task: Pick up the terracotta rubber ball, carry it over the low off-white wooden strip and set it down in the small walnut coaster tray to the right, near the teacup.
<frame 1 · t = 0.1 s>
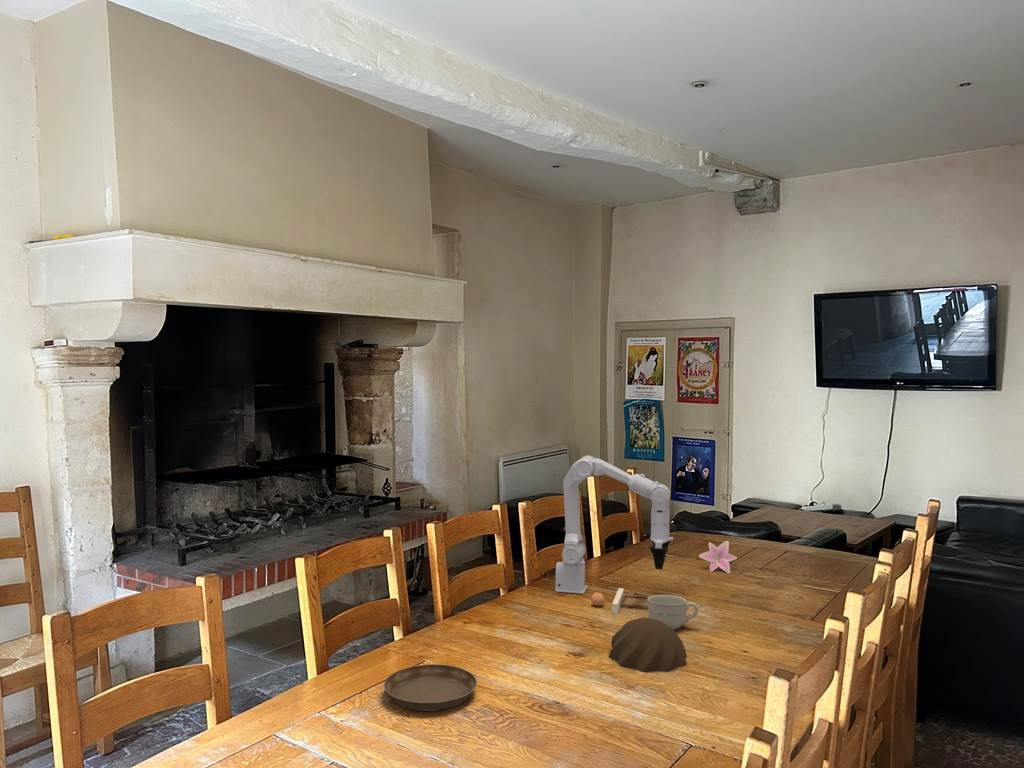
hand: (659, 565, 236), 10 cm above the table, tool pointing down, fingers open, 7 cm apart
tray: (637, 604, 230), on the table
teacup: (672, 628, 209), on the table
strip: (618, 605, 228), on the table
plant saucer: (430, 696, 166), on the table
decorative dome: (647, 658, 189), on the table
ball: (597, 599, 228), point 2 cm above the table
lily: (718, 570, 269), on the table
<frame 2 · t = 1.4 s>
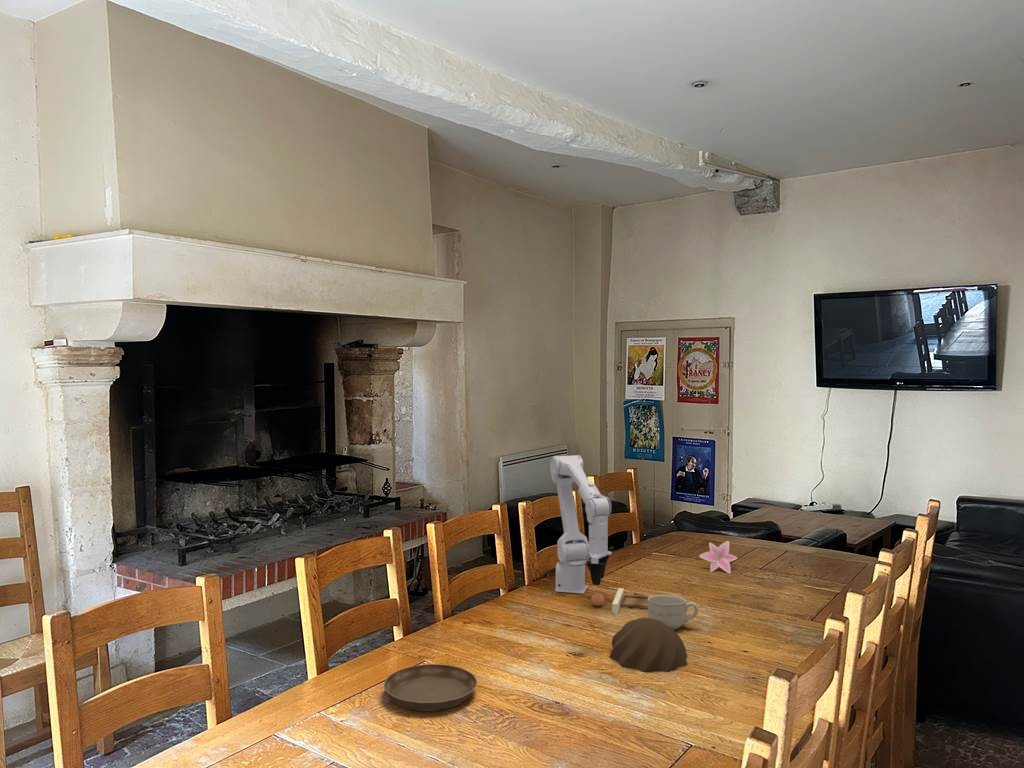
hand: (598, 581, 228), 8 cm above the table, tool pointing down, fingers open, 7 cm apart
nothing on the table moved.
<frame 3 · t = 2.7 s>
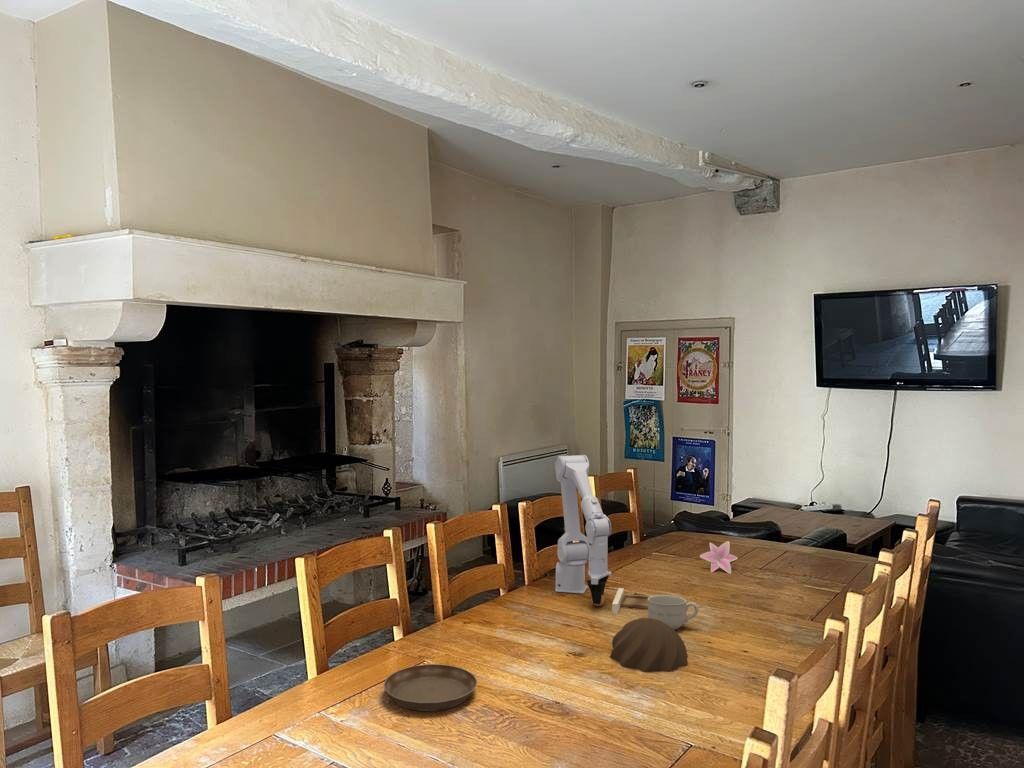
hand: (597, 601, 228), 1 cm above the table, tool pointing down, fingers closed on ball, 4 cm apart
ball: (597, 599, 228), point 2 cm above the table, touching gripper
everything else where it was.
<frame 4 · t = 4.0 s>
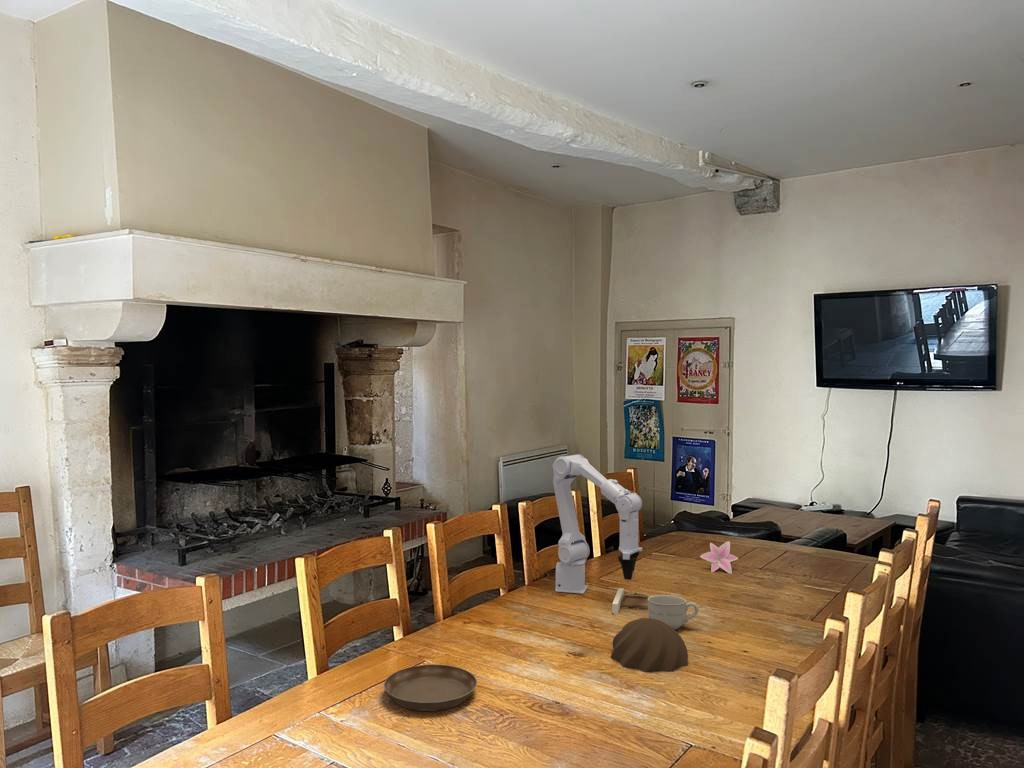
hand: (628, 577, 229), 8 cm above the table, tool pointing down, fingers closed on ball, 4 cm apart
ball: (628, 575, 229), point 9 cm above the table, touching gripper
everything else where it was.
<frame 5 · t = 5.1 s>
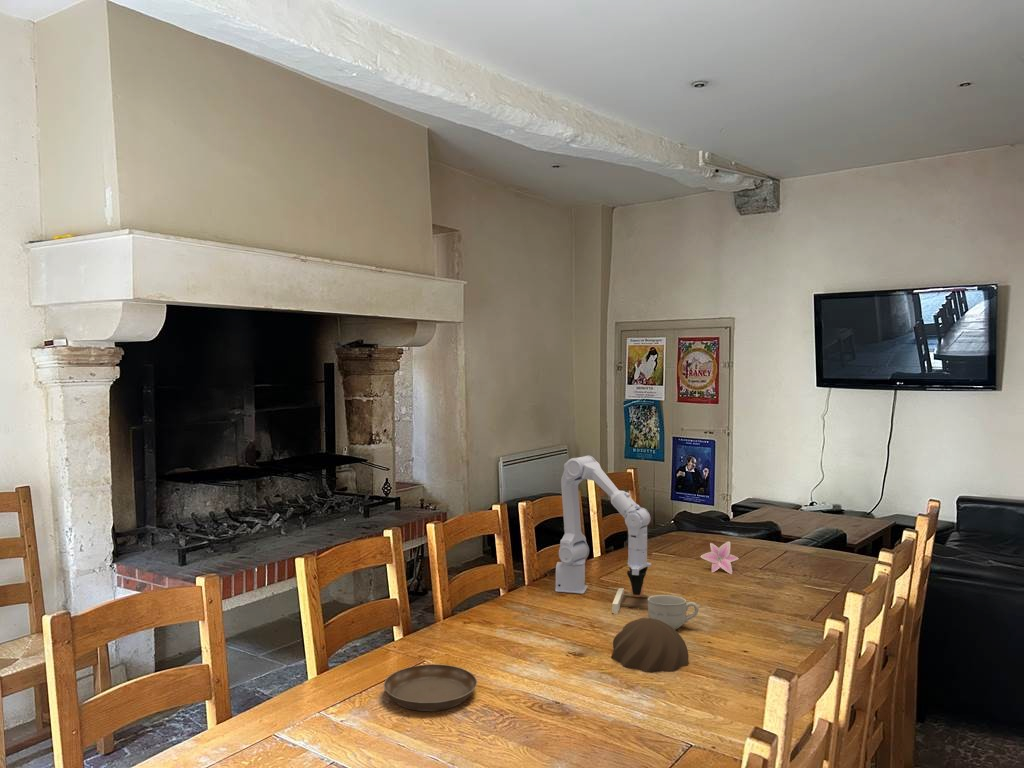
hand: (637, 592, 230), 4 cm above the table, tool pointing down, fingers closed on ball, 4 cm apart
ball: (637, 590, 230), point 4 cm above the table, touching gripper
everything else where it was.
when the fingers open (2 cm above the table, at t = 5.8 s): ball stays where it is, resting on tray.
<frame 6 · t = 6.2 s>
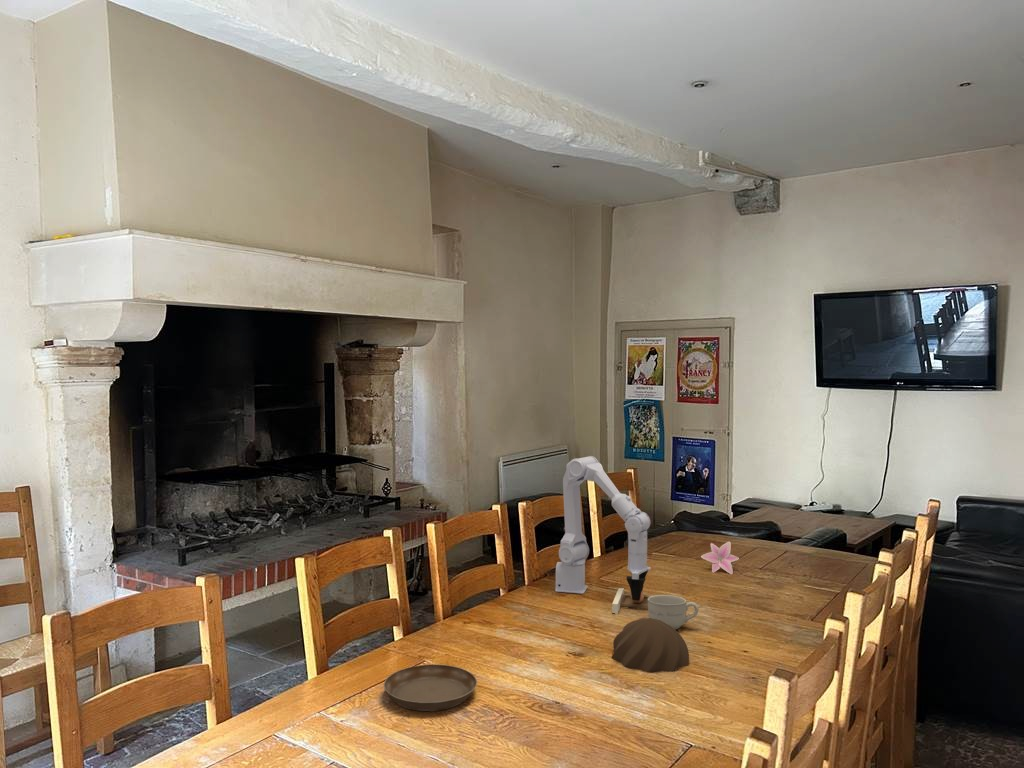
hand: (637, 596, 230), 2 cm above the table, tool pointing down, fingers open, 7 cm apart
ball: (637, 596, 229), point 2 cm above the table, tilted 9°, touching tray
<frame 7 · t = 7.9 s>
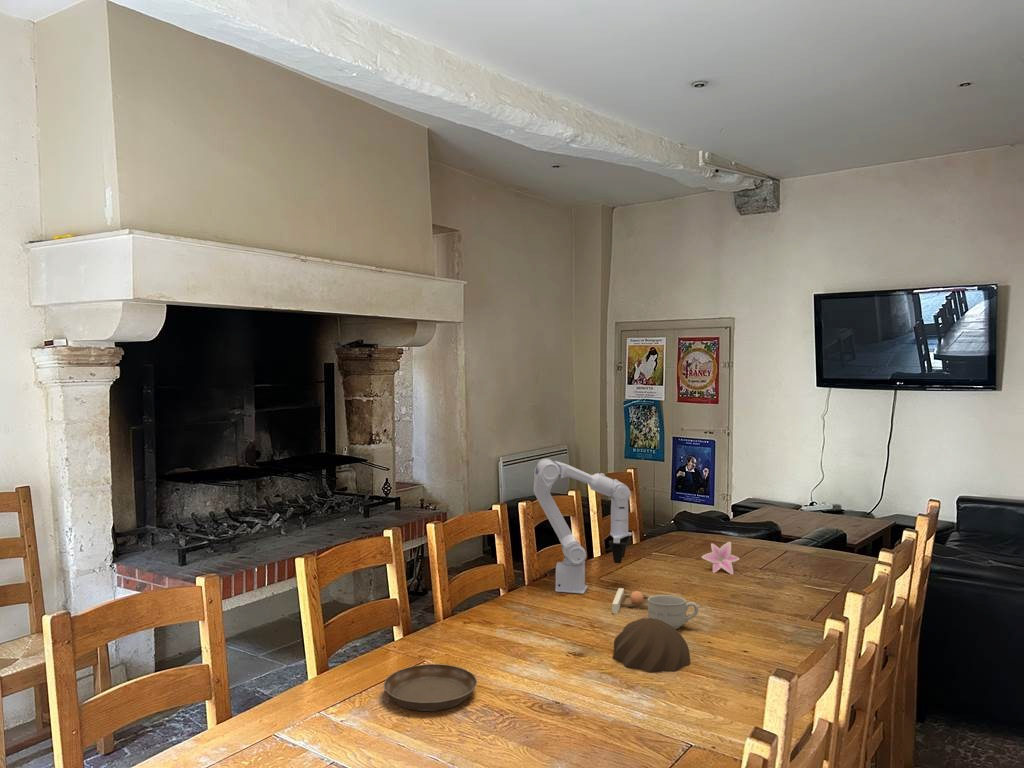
hand: (619, 560, 246), 9 cm above the table, tool pointing down, fingers open, 7 cm apart
ball: (636, 597, 228), point 2 cm above the table, tilted 52°, touching tray
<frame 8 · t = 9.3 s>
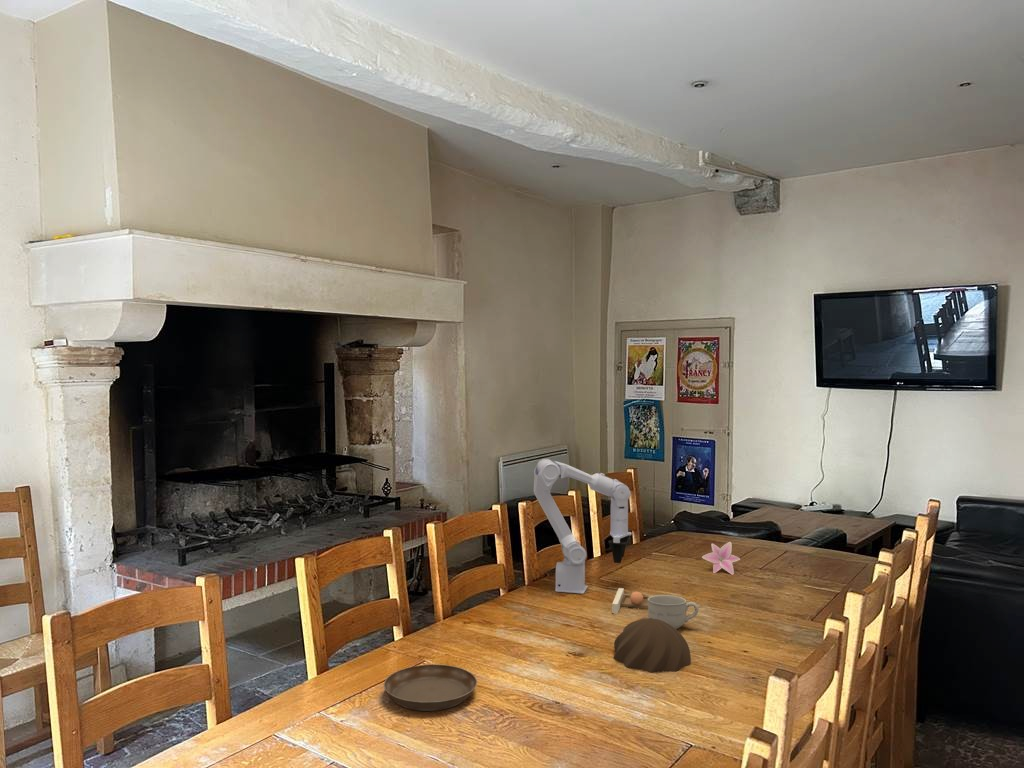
hand: (618, 559, 246), 9 cm above the table, tool pointing down, fingers open, 7 cm apart
ball: (636, 598, 227), point 2 cm above the table, tilted 68°, touching tray
at the end: ball inside the target area on the tray (2.4 cm from its centre), point 2.5 cm above the tray's base; the gripper is holding nothing; ball moved 11.9 cm from its start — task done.
